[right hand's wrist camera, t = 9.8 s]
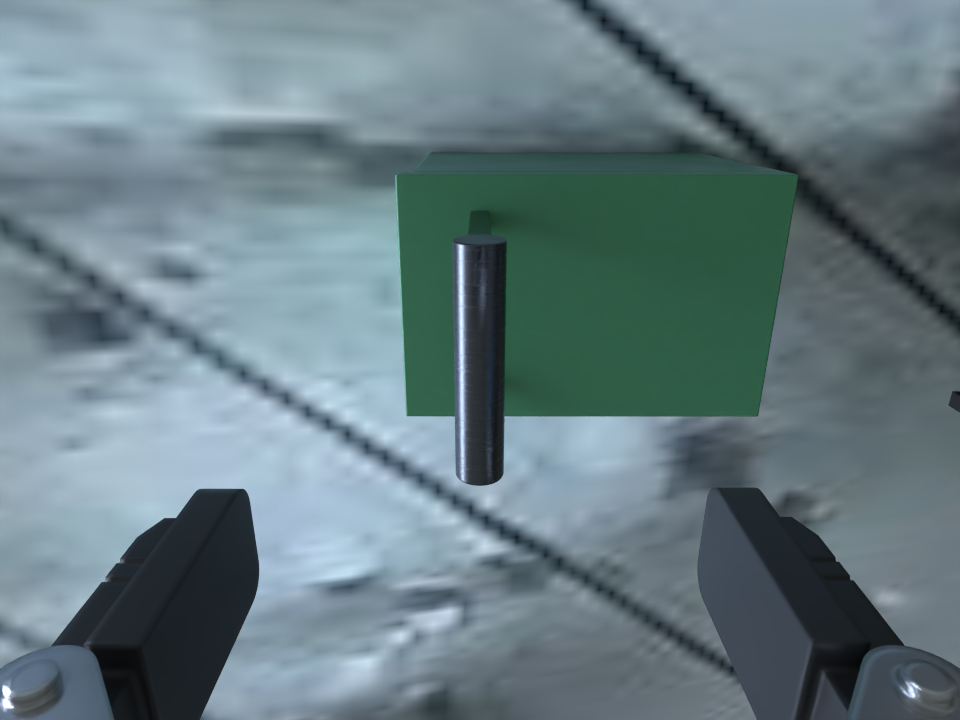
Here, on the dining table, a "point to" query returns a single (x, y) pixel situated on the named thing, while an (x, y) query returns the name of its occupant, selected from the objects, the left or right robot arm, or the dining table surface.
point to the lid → (586, 296)
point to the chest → (582, 163)
